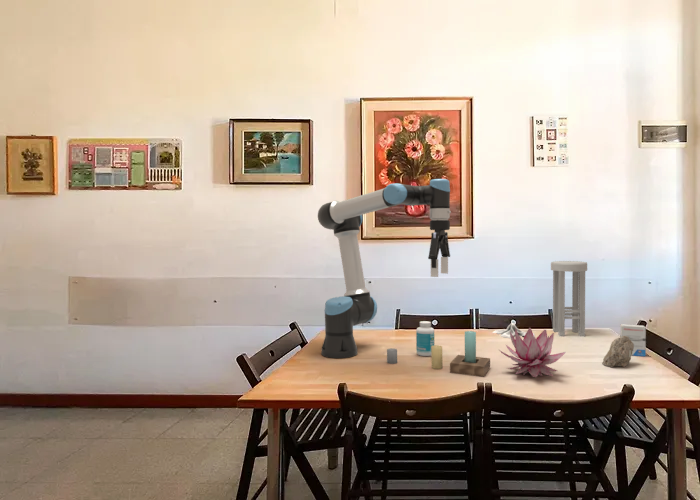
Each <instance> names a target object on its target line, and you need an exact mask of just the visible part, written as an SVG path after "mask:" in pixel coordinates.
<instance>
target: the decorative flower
mask: <svg viewBox="0 0 700 500" xmlns="http://www.w3.org/2000/svg"><path fill="white" fill-rule="evenodd" d="M526 332H527V333H526V334H525V336H524V337H523V339H522V337H521V336H519V335H518V332H517V329H516V328H515V337H513V335H512V333H511V331H510V337H511V338H510V340H511V343H512V345H513V347H514V349H512V348H511V347H510V346H508V344H505V346H506V348H507V350H508V351H509V353H511V355H509V354H507V353H505V352H503V351H501V350H500V349H498V351H499V352H500V353H501V354H502V355H504V356H506V357H507V358H509V359H510V360H511V361H513V362H515V363H512V366H514V367H507V368H506V369H508V370H514V369H518V370H517V371H516V372H515V373H514V374H515V375H518V374H522V373H523V374H522V376H525V375H526V374H528V372H529V374H530V376H532V378H537V377H538V376H540V377H543V375H542V374H544V375H546V376H550V377H551V376H552V377H554V375H553V373H552V372H558V370H557V369H555V368H552V367H549V366H548V365H551V364H553V363H556V362H558V360H560V359H561V358H562V357H563V356H564V355H565V354H566V351H563V352H559V353H554V354H551V353H552V348H553V347H552V346H553V343H554V336H555V332H552V333H551V335H548V332H547V329H544V330H543V331H541V333H540V334H539V335H538V336H537V337H536V336H535V337H534V336H533V330H532V328H531V327H528V329H527V331H526ZM514 338H515V339H514ZM514 350H515V351H514Z"/></svg>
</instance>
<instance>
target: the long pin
mask: <svg viewBox="0 0 700 500" xmlns="http://www.w3.org/2000/svg"><path fill="white" fill-rule="evenodd" d="M464 356H465V362H469V363H476V357H477V332H476V331H474V330H467V331H466V330H465V331H464Z"/></svg>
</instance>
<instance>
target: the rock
mask: <svg viewBox="0 0 700 500" xmlns="http://www.w3.org/2000/svg"><path fill="white" fill-rule="evenodd" d="M633 349H634V344H633V342H632V341H631V340H630V339H629V337H628V336H621V337H620V336H619V337H617V338H615V339H614V340H613V341H612V342H611V343H610V347H609V349H608V351H607V353H606V354H605V356H603V360H602V362H601V364H602V365H603V366H605V367H608V368H609V367H610V368H613V367H623V368H624V367H626V366H628V364H630V361H631V359H632V351H633Z"/></svg>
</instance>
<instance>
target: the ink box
mask: <svg viewBox="0 0 700 500" xmlns="http://www.w3.org/2000/svg"><path fill="white" fill-rule="evenodd" d="M619 327H620V331H619V332H620V336H619V338H620V337H621V336H628V337H629V339H630V340H631V341H632V342H633V344H634V349H633V351H632V355H631V357H632V356H633V357H634V356H636V357H646V353H647V352H646V349H647V346H646V345H647V344H646V343H647V341H646V339H647V336H646V335H647V331H646V330H647V329H646V327H645V325H641V324H640V325H637V324H624V323H621V324H620V326H619Z"/></svg>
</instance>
